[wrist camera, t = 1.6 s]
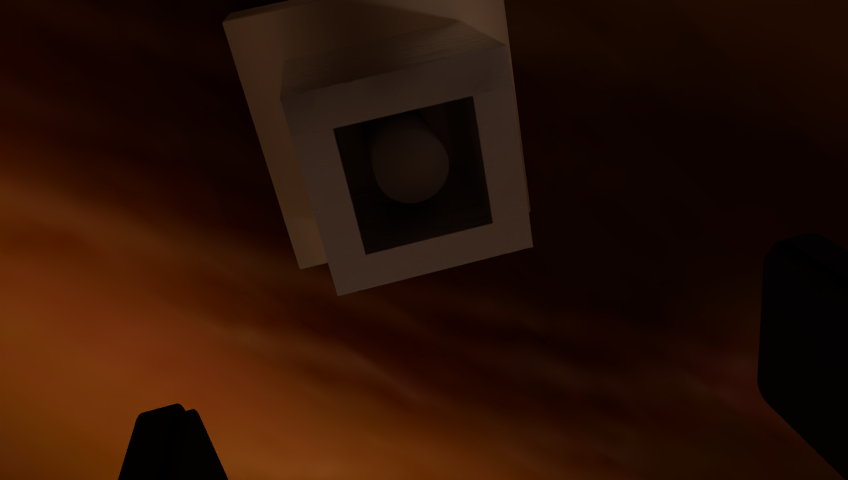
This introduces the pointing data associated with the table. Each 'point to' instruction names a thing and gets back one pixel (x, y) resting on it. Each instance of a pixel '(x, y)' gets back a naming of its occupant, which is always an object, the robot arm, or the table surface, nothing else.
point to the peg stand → (361, 142)
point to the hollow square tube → (469, 140)
